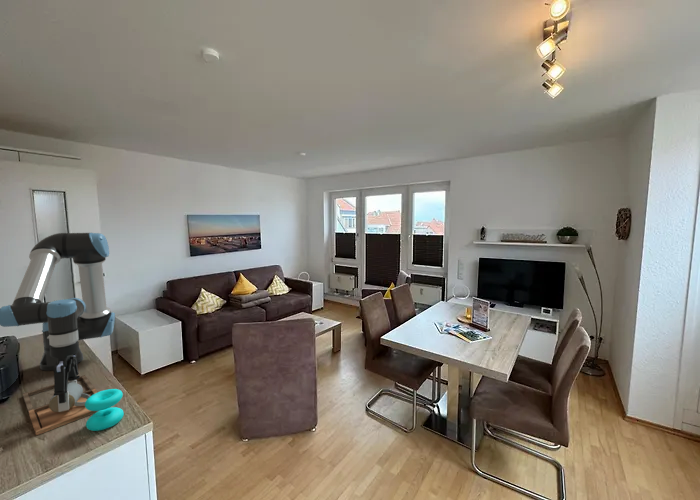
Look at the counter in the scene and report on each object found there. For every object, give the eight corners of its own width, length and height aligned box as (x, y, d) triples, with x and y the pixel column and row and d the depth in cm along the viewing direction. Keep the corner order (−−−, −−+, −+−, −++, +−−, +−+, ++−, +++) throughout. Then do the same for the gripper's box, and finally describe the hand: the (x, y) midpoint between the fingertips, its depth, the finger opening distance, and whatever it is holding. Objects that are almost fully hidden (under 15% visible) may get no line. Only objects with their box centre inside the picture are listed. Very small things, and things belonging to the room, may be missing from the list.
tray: (22, 396, 116) (22, 393, 116) (84, 377, 131) (84, 375, 130) (36, 435, 95) (35, 432, 95) (108, 407, 110) (108, 404, 109)
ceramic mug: (47, 416, 102) (46, 395, 101) (56, 404, 109) (55, 384, 108) (87, 408, 107) (86, 388, 106) (93, 396, 114) (93, 377, 114)
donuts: (119, 384, 108) (125, 395, 101) (120, 409, 109) (126, 422, 102) (82, 395, 100) (86, 407, 94) (84, 423, 101) (88, 437, 94)
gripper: (61, 335, 113) (65, 391, 115) (36, 357, 95) (42, 423, 96) (86, 332, 116) (90, 386, 118) (67, 352, 98) (72, 416, 100)
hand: (68, 403), depth 107 cm, fingers closed on ceramic mug, 8 cm apart
